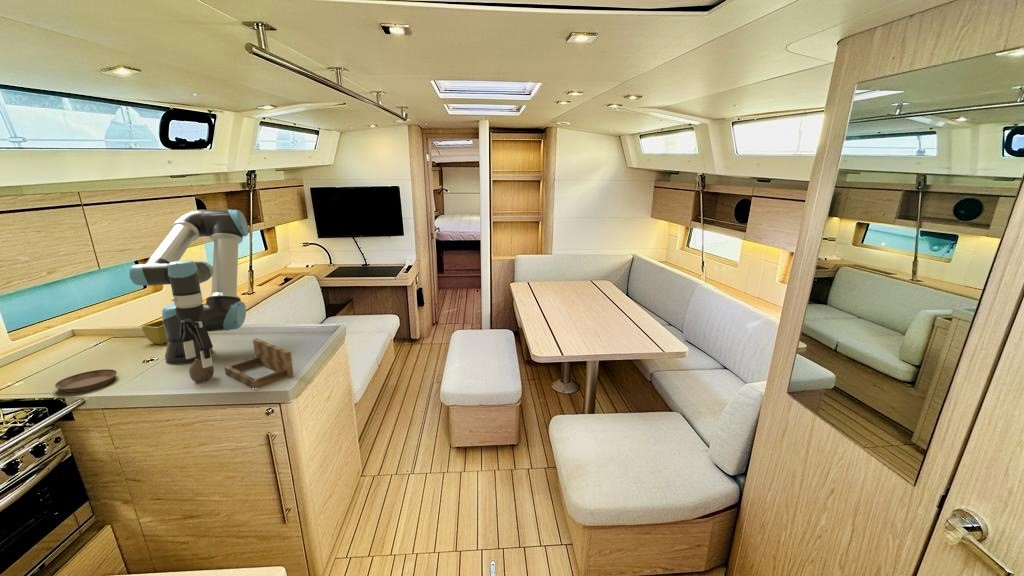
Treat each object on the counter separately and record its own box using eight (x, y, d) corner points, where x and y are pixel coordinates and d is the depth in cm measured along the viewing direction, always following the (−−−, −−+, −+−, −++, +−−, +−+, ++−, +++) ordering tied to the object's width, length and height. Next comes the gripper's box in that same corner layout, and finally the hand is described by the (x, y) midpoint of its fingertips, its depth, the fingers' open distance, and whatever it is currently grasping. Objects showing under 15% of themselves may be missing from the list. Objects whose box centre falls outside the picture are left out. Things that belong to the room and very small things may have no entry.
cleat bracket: (223, 373, 144) (219, 349, 142) (260, 361, 155) (256, 338, 153) (256, 390, 132) (252, 364, 130) (293, 376, 143) (290, 351, 141)
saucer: (115, 371, 144) (114, 365, 144) (121, 384, 135) (119, 377, 134) (56, 385, 133) (54, 378, 132) (57, 400, 124) (55, 393, 123)
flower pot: (144, 345, 168) (140, 325, 166) (165, 337, 176) (161, 319, 174) (161, 346, 167) (157, 327, 165) (181, 339, 175) (177, 321, 173)
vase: (201, 385, 135) (197, 363, 133) (186, 383, 136) (181, 361, 134) (220, 377, 142) (216, 355, 139) (204, 374, 143) (200, 353, 141)
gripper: (161, 302, 135) (172, 357, 140) (191, 313, 123) (202, 374, 127) (187, 298, 141) (196, 351, 146) (218, 308, 129) (227, 366, 134)
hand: (199, 362), depth 137 cm, fingers open, 13 cm apart
